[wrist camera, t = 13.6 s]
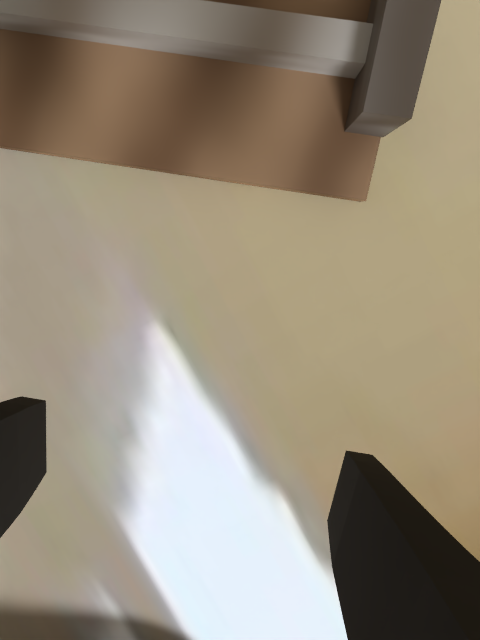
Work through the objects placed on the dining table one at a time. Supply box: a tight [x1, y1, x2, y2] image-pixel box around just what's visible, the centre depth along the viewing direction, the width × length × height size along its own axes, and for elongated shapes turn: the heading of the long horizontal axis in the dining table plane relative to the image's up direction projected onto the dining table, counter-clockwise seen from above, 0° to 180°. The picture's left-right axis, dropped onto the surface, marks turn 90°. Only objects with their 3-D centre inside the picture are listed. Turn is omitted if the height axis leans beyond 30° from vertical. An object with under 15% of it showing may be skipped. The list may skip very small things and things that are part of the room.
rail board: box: [0, 0, 441, 201], centre depth 14 cm, size 30×10×4 cm, turn 82°
